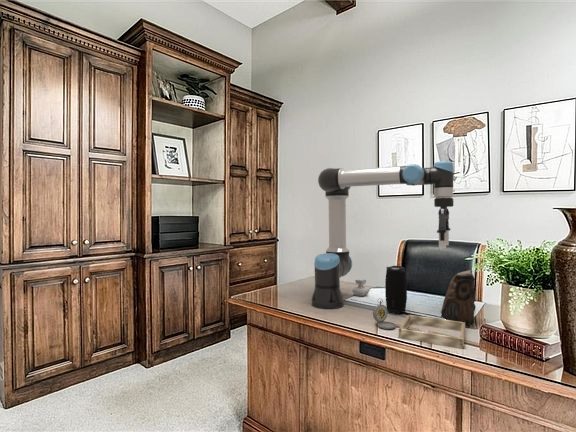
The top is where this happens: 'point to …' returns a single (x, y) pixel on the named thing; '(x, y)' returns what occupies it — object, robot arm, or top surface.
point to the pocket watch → (382, 317)
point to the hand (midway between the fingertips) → (444, 246)
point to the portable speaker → (396, 289)
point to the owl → (460, 299)
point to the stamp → (360, 288)
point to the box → (430, 336)
